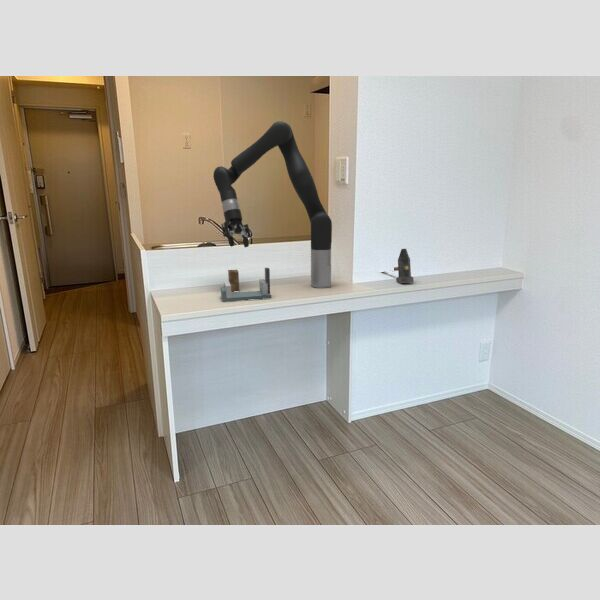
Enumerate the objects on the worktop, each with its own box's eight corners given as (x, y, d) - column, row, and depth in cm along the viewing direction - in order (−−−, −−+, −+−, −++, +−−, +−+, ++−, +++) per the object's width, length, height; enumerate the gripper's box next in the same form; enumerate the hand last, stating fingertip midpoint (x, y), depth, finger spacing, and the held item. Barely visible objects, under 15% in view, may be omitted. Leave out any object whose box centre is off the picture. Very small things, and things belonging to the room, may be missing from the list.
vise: (267, 293, 202) (267, 278, 201) (271, 298, 194) (271, 283, 192) (221, 296, 198) (220, 281, 196) (223, 302, 189) (222, 286, 187)
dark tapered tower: (385, 252, 246) (411, 248, 217) (387, 282, 246) (413, 282, 217) (375, 253, 244) (400, 248, 215) (376, 283, 245) (401, 283, 216)
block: (237, 289, 211) (237, 269, 209) (239, 291, 206) (238, 271, 204) (229, 289, 210) (228, 270, 208) (230, 292, 205) (229, 272, 203)
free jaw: (267, 289, 202) (266, 266, 199) (271, 294, 193) (270, 270, 191) (259, 290, 201) (258, 266, 198) (263, 295, 193) (262, 270, 190)
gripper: (225, 206, 197) (233, 242, 195) (249, 209, 208) (257, 244, 206) (214, 213, 202) (221, 248, 200) (238, 215, 213) (245, 249, 211)
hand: (239, 246), depth 203 cm, fingers open, 8 cm apart
